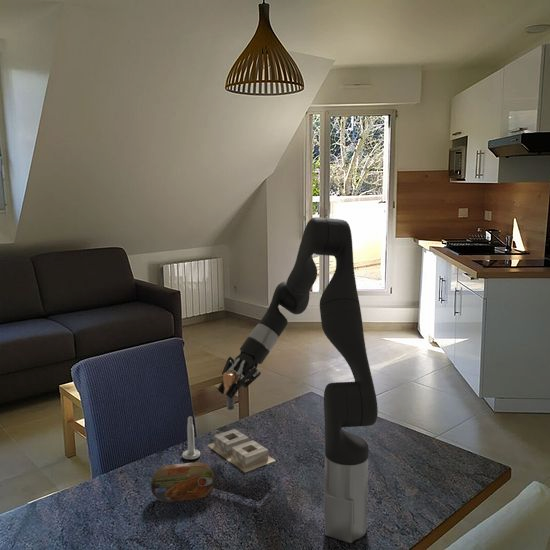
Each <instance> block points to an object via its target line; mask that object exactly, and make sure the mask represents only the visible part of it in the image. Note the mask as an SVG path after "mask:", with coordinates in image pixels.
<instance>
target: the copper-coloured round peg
mask: <svg viewBox="0 0 550 550" xmlns="http://www.w3.org/2000/svg"><path fill="white" fill-rule="evenodd" d="M236 373H237V372H236V371H234V372H228V371H227V372H225V373H224V374H223V375H222V376H223V377H222V378H223V379H222V381H224V395H225V396H226V392H227V391H228V389H229V388H230V386H231V385H232V384H233V383H234V381H235V379H236ZM237 393H238V391H237V392H236V394H235V395H237ZM235 395H234V396H233V397H232V398H229V397H228V396H226V409H227V410H229V411H231V410H235Z"/></svg>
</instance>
